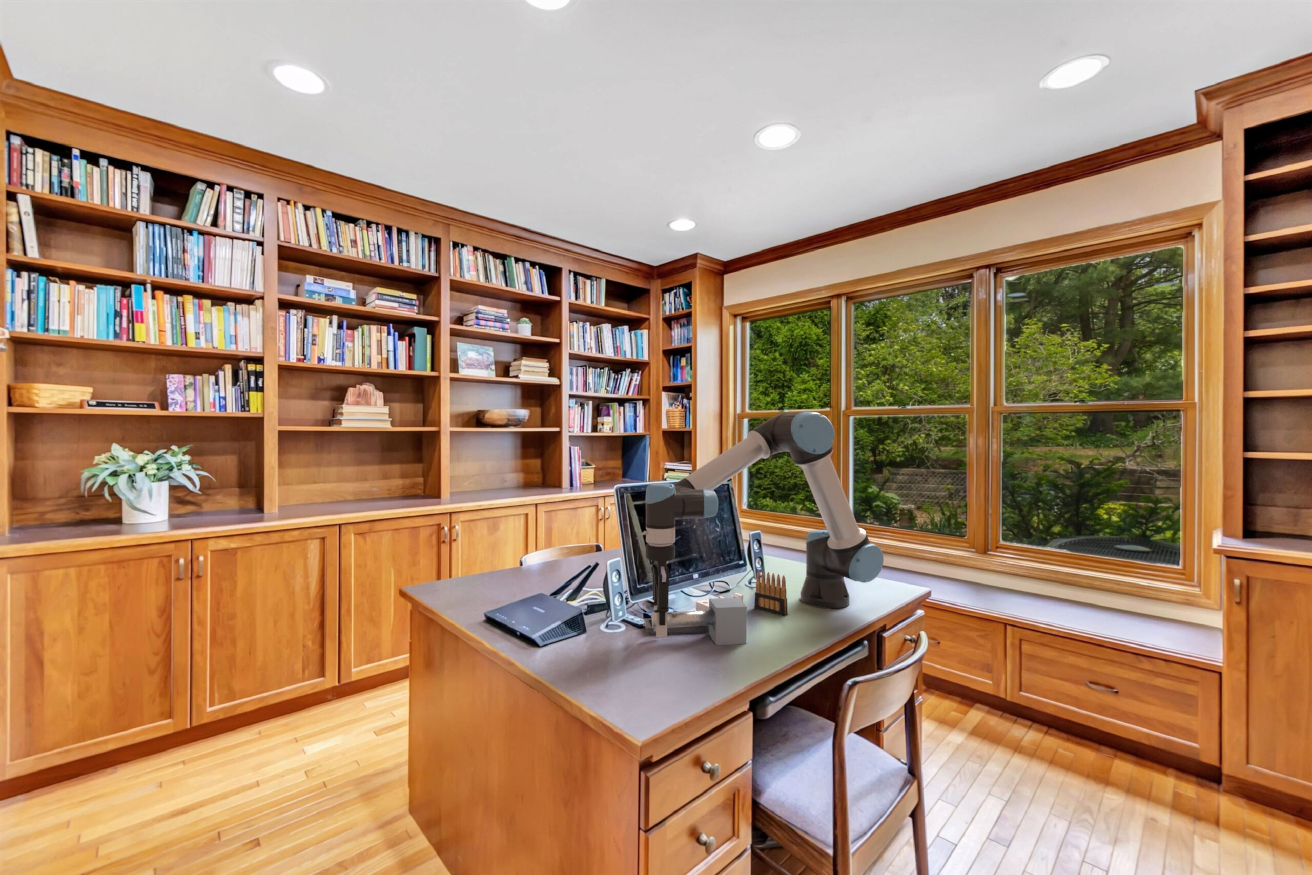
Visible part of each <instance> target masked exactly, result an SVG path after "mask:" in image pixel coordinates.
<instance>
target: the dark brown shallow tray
mask: <svg viewBox="0 0 1312 875" xmlns="http://www.w3.org/2000/svg"><path fill="white" fill-rule="evenodd" d="M643 623H644V628H645V631H646V632H645V633H646V635H647V636H652V635H654V636H656V631H654V629H653V628H652V617H651V618H650V617H649V618H644V622H643ZM698 633H699V634H700V633H701V634H702V633H704V634H705V633H709V625H707V626H690V627H673V628H667V635H677V634H679V635H680V634H681V635H682V634H698Z"/></svg>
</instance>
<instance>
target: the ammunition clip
mask: <svg viewBox="0 0 1312 875" xmlns="http://www.w3.org/2000/svg"><path fill="white" fill-rule="evenodd" d="M781 578H782V579H781ZM753 603H754V605H753V606H754V607H753V609H754V610H757V611H761V612H765V613H770V614H773V615H777V616H781V617H787V616H788V615H789V614H788V613H789V612H788V597H787V581H786V576H785V574H783V576H782V577H781V576H780V574H779V573H778V574H777V576H775V573H774V572H773V573H772V575H770V572H769V571H767V574H766V575H765V570H763V571H762V572H760V570H759V569H758V570H757V573H756V582H755V592H754V602H753Z"/></svg>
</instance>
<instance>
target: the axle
mask: <svg viewBox="0 0 1312 875" xmlns="http://www.w3.org/2000/svg"><path fill="white" fill-rule="evenodd" d="M651 618H652V628H653V629H655V628H656V613H654V612H652V613H651ZM714 624H715V615H714V611H713V610H701V611H696V610H687V611H686V610H684V611H671V612H670V611H668V612H667V628H673V627H690V626H707V625H714Z"/></svg>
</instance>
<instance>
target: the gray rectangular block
mask: <svg viewBox="0 0 1312 875" xmlns="http://www.w3.org/2000/svg"><path fill="white" fill-rule="evenodd" d="M708 599H709V610H713V611H714V615H715V624H714V625H709V632H708V635H709V636H710V638H711V640H712V641H713V643H714V644H715V646H725V645H742V644H743V645H746V644H747V636H748V635H747V630H748V629H747V622H748V621H747V620H748V619H747V618H748V617H747V616H748V615H747V613H748V612H747V610H748V608H747V606H746V604H744V601H743V602H742V601H741V600H740V599H739V598H734V597H724V598H719V597H717V598H716V597H712V598H708Z"/></svg>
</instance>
